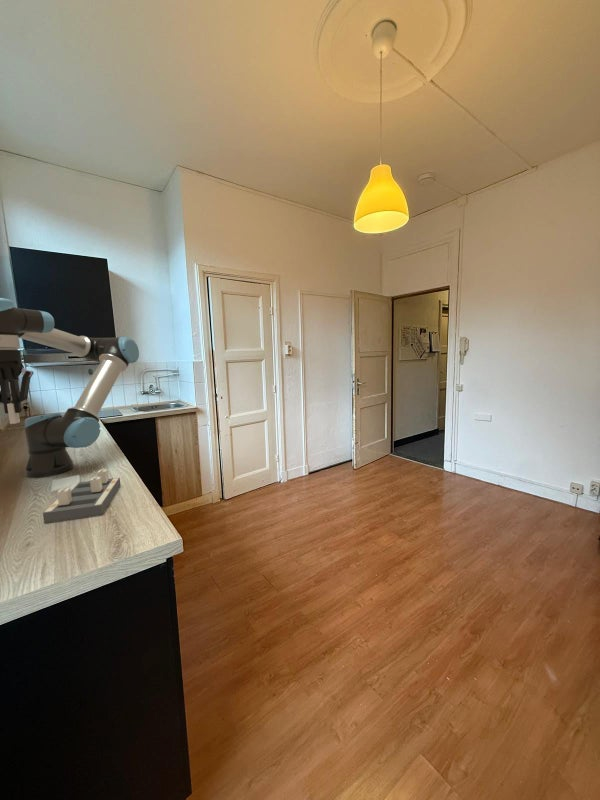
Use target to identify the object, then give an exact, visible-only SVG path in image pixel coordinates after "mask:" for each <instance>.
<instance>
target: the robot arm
mask: <svg viewBox="0 0 600 800" xmlns="http://www.w3.org/2000/svg"><path fill="white" fill-rule="evenodd" d="M20 339H22V340H25V341H29V342H33V343H37V344H40V345H42V346H43V345H44V346H45V347H46V346H47V347H51V348H54V349H57V350H61V351H65V352H69V353H73V355H75V356H76V357H79V358H82V359H86V360H89V361H93V362H97V363H99V364H98V366H97V367H96V369H95V371H94V373H93V374H92V376H91V378H90V379H89V380H88V382H87V384H86V386H85V388H84V390H83V391H82V393H81V395H80V397H79V398H78V400H77V402H76V403H75V405H74V406H72V407H69V408H67V410H66V412H65V413H63V415H62V413H61V412H53V413H45V414H40V415H35V416H31V417H27V418H25V419H24V431H25V437H26V442H27V443H26V444H27V449H28V450H27V451H28V458H27V462H26V466H25V470H24V472H25V476H26V477H28V478H44V477H51V476H55V475H59V474H62V473H66V472H68V471H69V470H72V469H73V468H74V462H73V460H72V458H71V456H70V454H69V452H68V450H67V448H71V449H78V448H86V447H89V446H92V445H93V444H94V443H95V442H96V441H97V440H98V438H99V436H100V434H101V429H100V428H101V425H100V424H101V423H99V422H100V418H99V416H98V415H99V413H100V412H101V409H102V407H103V405H104V403H105V402H106V400H107V399H108V397H109V394H110V392H111V390H112V388H113V387H114V384H115V383H116V381H117V379H118V377H119V375H120V374H121V372H124V371H126V370H127V369H128V367H129V364H134V363H136V362H137V361H138V360H139V359H140V357H139V356H140V350H139V347H138V344H137V342H136V341H135V340H134V339H133V338H130V337H126V336H120V337H119V336H118V337H89V336H86V335H79V336H78V335H75V334H72V333H70V332H67V331H63V330H60V329H58V328H55V319H54V317H53V316H52V315H51V313H50V312H47V311H43V310H40V309H39V310H36V309H27V308H20V307H16V306H15V303H14V301H13V300H11V299H9V298H4V297H0V403H2V405H3V410H4V413H5V414H8V421H9V424H10V425H13V424H14V425H17V424H18V423H20V422H21V419H20V413H22V412H23V411H22V410H23V409H22V404H21V403H22V402H23V401H27V400H28V395H29V391H30V384H31V379H32V376H33V375H34V373H35V372H34V371H33V370H29V369H28V368H25V366H24V364H23V362H22V361H23V360H22V354H21V351H20V350H19V349H20V348H21V346H20ZM20 375H22V377H21V383H19V382H20V378H19V377H20Z"/></svg>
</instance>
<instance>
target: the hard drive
mask: <svg viewBox="0 0 600 800" xmlns="http://www.w3.org/2000/svg"><path fill="white" fill-rule="evenodd" d="M51 482H52V483H51V489H50V494H51V493H54V494H57V492H58V491H59V490H60V489H63V488H64V487H67V488H69V487H70V486H71V485H72V484H73V483H78V482H81V476H80V474H76V475H72V476H71V475H70V476H67V477H63V478H62V477H61V478H57V479H53V480H52V481H51Z"/></svg>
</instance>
